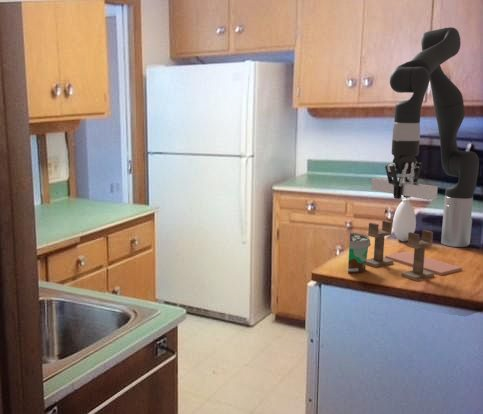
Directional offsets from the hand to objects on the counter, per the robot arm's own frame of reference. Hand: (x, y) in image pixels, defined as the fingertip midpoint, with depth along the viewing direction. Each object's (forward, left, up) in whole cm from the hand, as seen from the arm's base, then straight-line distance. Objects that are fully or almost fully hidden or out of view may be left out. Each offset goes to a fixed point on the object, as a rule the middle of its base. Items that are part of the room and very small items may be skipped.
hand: (402, 197), depth 159 cm
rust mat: (-11, 0, -22) cm, 25 cm away
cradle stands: (0, 0, -22) cm, 22 cm away
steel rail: (0, 0, +1) cm, 1 cm away
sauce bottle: (-30, -23, -22) cm, 44 cm away
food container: (+10, -6, -22) cm, 25 cm away
